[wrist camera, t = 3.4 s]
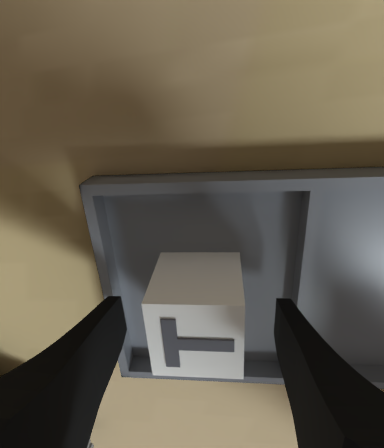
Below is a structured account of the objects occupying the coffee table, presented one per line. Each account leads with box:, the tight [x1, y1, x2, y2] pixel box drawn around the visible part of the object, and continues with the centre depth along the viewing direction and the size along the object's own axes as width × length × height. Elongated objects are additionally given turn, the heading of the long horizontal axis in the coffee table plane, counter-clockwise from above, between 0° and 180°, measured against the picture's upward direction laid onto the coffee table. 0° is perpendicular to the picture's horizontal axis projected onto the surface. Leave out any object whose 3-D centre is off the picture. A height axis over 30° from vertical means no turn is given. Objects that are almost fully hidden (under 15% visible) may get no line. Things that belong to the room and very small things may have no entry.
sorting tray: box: [79, 167, 384, 389], centre depth 15 cm, size 12×20×2 cm, turn 93°
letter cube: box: [141, 252, 245, 379], centre depth 14 cm, size 4×4×4 cm
